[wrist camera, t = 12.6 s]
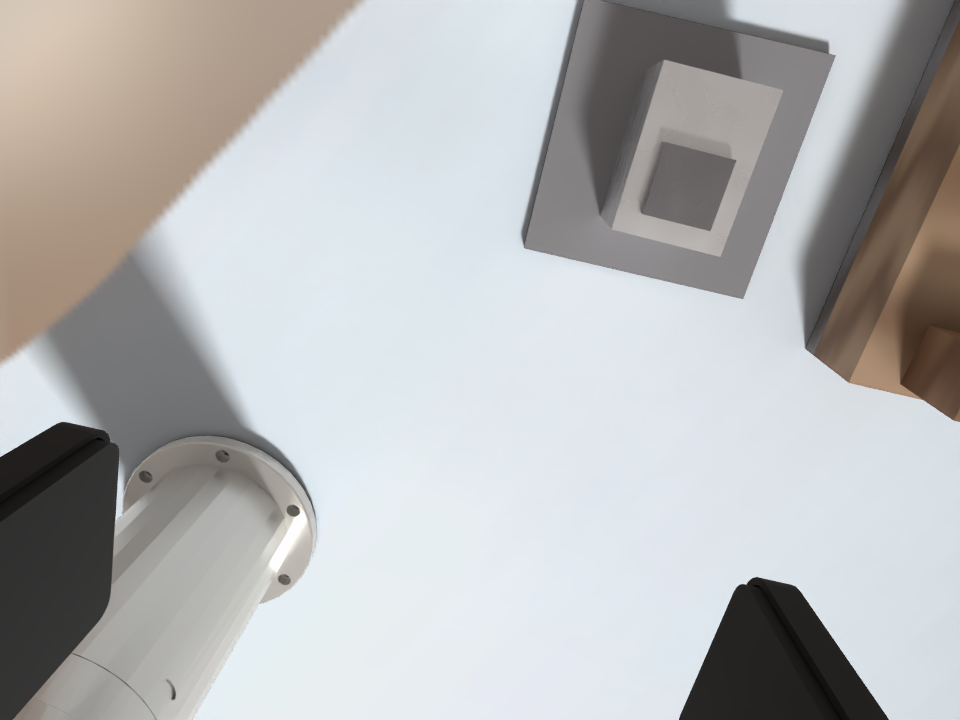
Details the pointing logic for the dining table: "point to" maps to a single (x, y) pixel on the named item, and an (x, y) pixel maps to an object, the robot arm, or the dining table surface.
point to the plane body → (907, 255)
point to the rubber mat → (602, 123)
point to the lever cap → (688, 156)
